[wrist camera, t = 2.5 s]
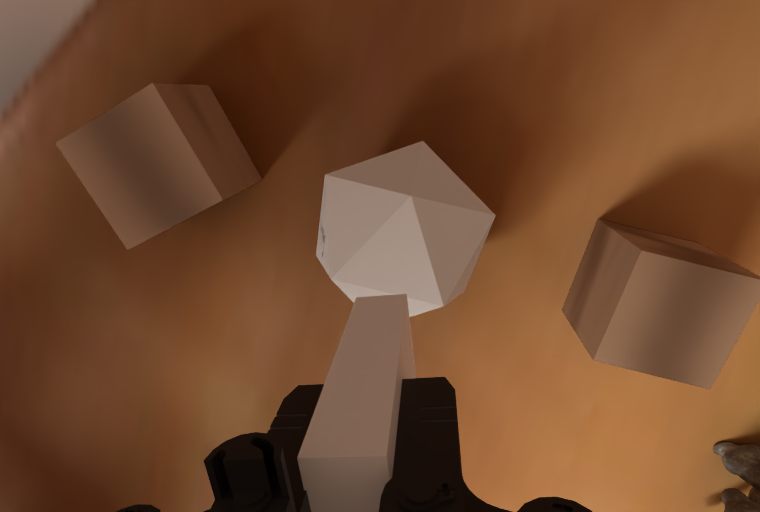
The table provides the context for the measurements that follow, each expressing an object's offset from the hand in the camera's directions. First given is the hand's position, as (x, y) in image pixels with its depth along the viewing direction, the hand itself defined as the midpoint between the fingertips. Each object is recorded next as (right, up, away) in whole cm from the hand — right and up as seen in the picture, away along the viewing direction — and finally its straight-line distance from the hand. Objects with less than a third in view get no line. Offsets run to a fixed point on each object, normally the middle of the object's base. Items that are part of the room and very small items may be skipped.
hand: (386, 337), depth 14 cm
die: (+1, +5, +15) cm, 15 cm away
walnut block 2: (+15, +1, +14) cm, 20 cm away
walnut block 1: (-11, +8, +14) cm, 20 cm away
